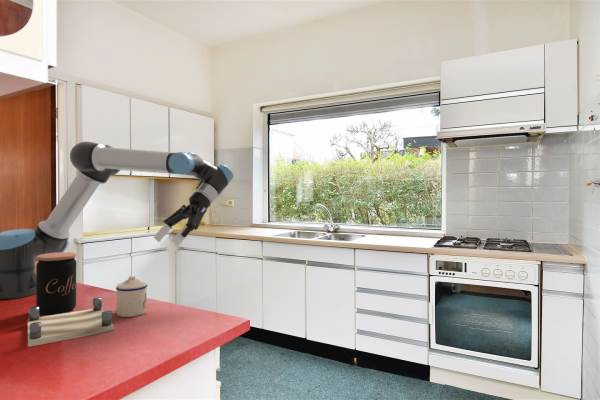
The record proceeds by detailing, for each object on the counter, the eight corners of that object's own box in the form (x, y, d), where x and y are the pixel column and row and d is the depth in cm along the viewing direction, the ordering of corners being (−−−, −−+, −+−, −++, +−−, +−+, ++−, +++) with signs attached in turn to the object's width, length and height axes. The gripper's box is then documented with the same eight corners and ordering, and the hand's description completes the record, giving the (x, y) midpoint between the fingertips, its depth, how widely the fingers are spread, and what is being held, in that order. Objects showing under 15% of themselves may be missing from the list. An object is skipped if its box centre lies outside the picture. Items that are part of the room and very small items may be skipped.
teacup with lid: (150, 314, 115) (150, 277, 115) (118, 319, 110) (118, 281, 110) (141, 304, 125) (141, 270, 125) (111, 309, 120) (111, 273, 119)
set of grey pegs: (29, 319, 105) (29, 307, 105) (101, 307, 116) (101, 296, 116) (29, 340, 90) (29, 326, 90) (112, 325, 101) (112, 312, 101)
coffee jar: (43, 318, 110) (43, 259, 109) (31, 311, 116) (31, 254, 116) (82, 310, 118) (82, 254, 118) (68, 303, 125) (68, 251, 124)
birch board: (27, 324, 105) (27, 319, 105) (102, 312, 117) (102, 307, 117) (27, 347, 90) (28, 340, 90) (113, 330, 101) (113, 325, 101)
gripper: (228, 205, 131) (191, 252, 121) (191, 204, 148) (156, 244, 138) (216, 190, 127) (176, 237, 117) (179, 190, 144) (141, 231, 134)
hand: (165, 241), depth 127 cm, fingers open, 13 cm apart
